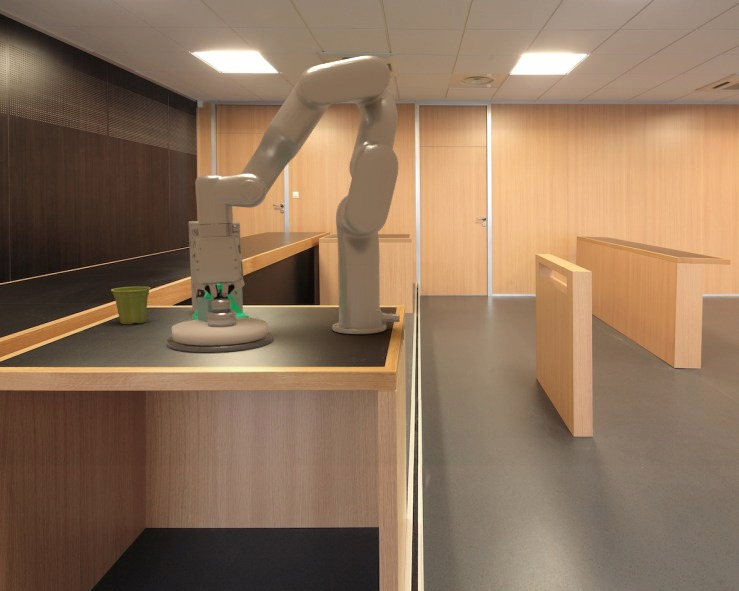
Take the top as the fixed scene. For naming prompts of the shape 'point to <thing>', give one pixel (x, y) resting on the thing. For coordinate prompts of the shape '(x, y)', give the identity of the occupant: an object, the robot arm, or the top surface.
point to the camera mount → (233, 304)
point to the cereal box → (194, 235)
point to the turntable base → (220, 346)
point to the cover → (221, 314)
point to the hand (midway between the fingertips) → (221, 314)
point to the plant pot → (131, 304)
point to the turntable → (217, 329)
